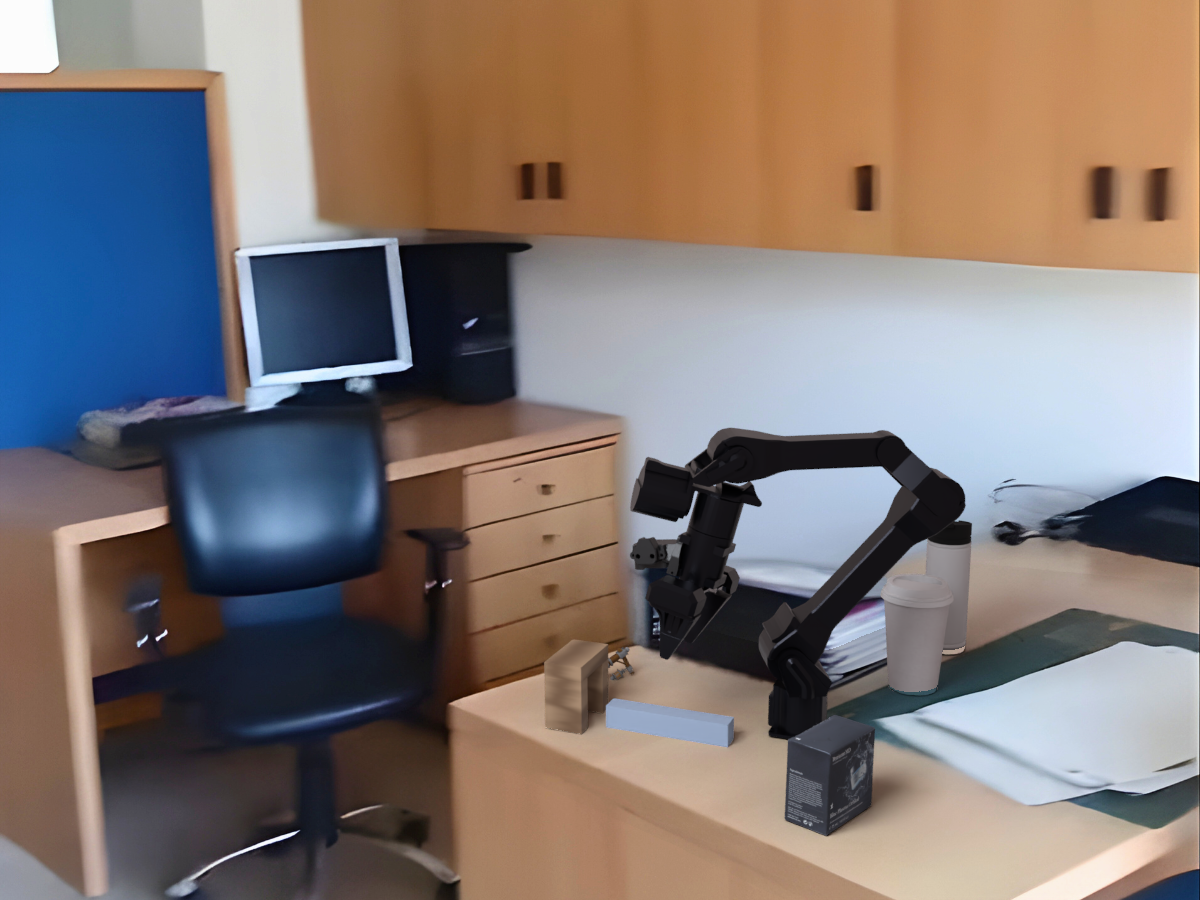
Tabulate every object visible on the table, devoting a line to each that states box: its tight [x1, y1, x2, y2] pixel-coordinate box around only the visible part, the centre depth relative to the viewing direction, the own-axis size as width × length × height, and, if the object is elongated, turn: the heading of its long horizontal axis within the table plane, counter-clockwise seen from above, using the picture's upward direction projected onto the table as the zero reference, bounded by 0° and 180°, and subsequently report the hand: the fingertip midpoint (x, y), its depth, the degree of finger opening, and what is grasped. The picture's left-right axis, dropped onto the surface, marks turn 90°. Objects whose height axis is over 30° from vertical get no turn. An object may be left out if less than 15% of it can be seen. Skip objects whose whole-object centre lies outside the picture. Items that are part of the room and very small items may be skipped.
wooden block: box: [543, 639, 609, 735], centre depth 159 cm, size 5×9×9 cm, turn 158°
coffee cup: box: [880, 573, 954, 692], centre depth 169 cm, size 10×10×15 cm
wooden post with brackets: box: [608, 646, 635, 681], centre depth 173 cm, size 2×8×4 cm, turn 116°
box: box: [783, 714, 876, 836], centre depth 134 cm, size 9×6×10 cm, turn 138°
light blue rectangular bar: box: [605, 697, 735, 748], centre depth 155 cm, size 16×3×3 cm, turn 68°
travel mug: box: [925, 520, 973, 650], centre depth 183 cm, size 6×7×20 cm
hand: (676, 650), depth 153 cm, fingers open, 9 cm apart
